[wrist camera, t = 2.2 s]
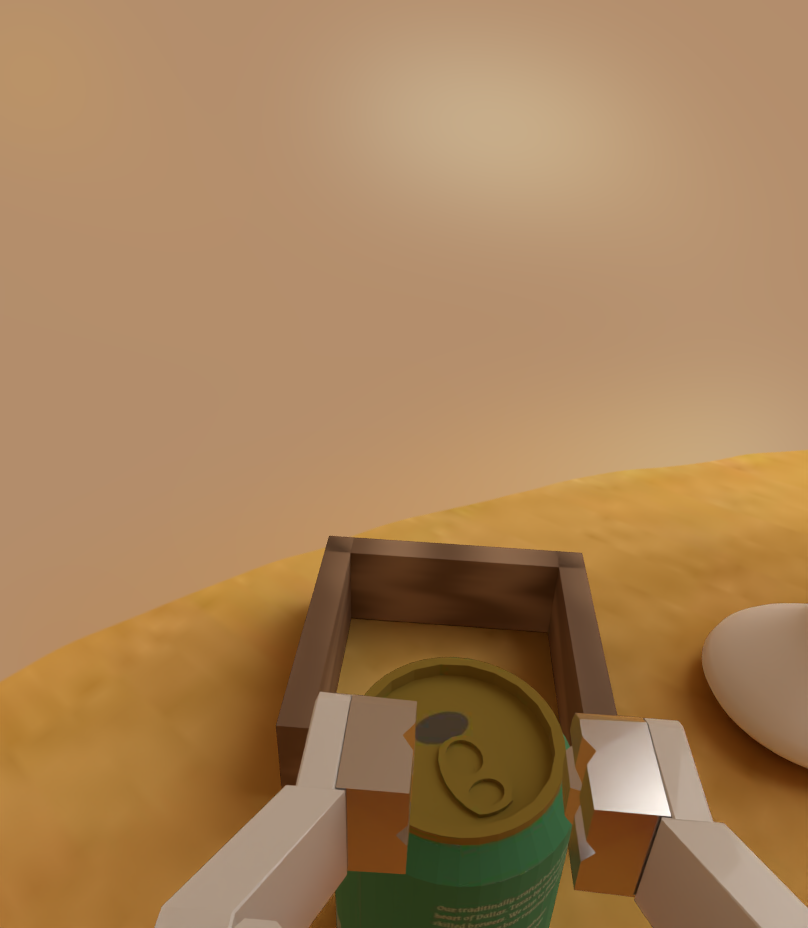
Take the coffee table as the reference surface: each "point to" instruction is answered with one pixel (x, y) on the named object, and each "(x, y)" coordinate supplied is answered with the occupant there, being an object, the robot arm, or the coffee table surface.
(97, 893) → the coffee table surface
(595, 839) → the robot arm
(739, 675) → the flower in vase
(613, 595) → the coffee table surface
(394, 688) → the beverage can
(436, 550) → the walnut bracket
